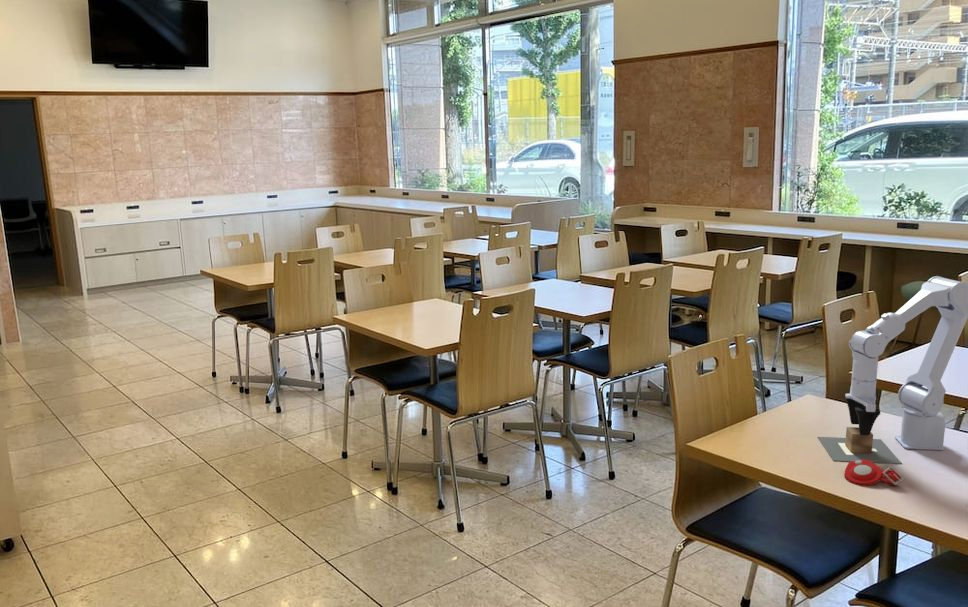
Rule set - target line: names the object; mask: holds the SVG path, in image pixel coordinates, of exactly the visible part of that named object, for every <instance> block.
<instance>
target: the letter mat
mask: <svg viewBox="0 0 968 607" xmlns="http://www.w3.org/2000/svg"><path fill="white" fill-rule="evenodd" d="M817 439H818V441H820V443H821V445H822V446H823V447H824V449H825V451H826V452H827V454H828V456H829V457H830V458H831V460H832V461H833V462H846V463H849V462H851V461H857V460H869V461H871V462H872V463H874V464H888V465H889V464H891V465H902V462H901V461H900V459H899V458H898V457H897V456H896V455H895V454H894V453H893V452H892V450H891V449H890V448H889V447H888V446H887V444H886V443H885V442H884V441H883V440H882V439H881V438H873V443H872V453H851V452H850V451H849V450H848V448H847V447H846V446H845V441H846V437H836V436H835V437H834V436H833V437H832V436H817Z"/></svg>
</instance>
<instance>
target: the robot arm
mask: <svg viewBox="0 0 968 607" xmlns="http://www.w3.org/2000/svg"><path fill="white" fill-rule="evenodd" d="M931 307H936V308H937V309H938V312H939V313H940V316H941V317H940V320H939V322H938V324H937V327H936V329H935V330H934V331H935V332H934V333H933V336H932V338H931V341H930V343H929V345H928V347H927V349H926V353H925V354H924V357H923V359H922V362H921V363H920V367H919V368H918V371H917V372H915V373H913V374H911V375H909V376H907V378H906V381H905V382H904V384H902V386H901V387H900V388H899V390H898V391H897V392H898V393H897V399H898V400H899V403H900V404H902V405H901V408H902V409H903V410H902V420H901V421H902V422H901V431H900V432H901V433H900V435H895V436H894V438H895V440H897V441H898V443H899V444H900V445H901V447H903V448H904V449H907V450H908V449H909V450H932V451H943V450H945V448H944V442H945V441H944V439H945V431H946V421H945V416H944V415H943V413H942V412H941V410H942V408H943V406H944V398H945V394H946V392H947V391H946V388H945V387H944V385H943V383H942V381H941V380H942V378H943V375H944V374H945V371H946V369H947V366H948V364H949V361H950V359H951V357H952V355H953V353H954V350H955V349H956V346H957V343H958V341H959V338H960V337H961V334H962V331H963V330H964V327H965V325H966V323H967V320H968V282H966V281H959V280H955V279H950V278H946V277H943V276H939V275H936V276H932V277H931V278H929V279H927V281H925V282H924V283H922V284H921V287H920V290H919V291H918V292H917V293H916V294H915V295H914V296H913V297H911V298H910V299H909V300H908V301H907V302H906V303H904V305H903V306H901V307H900V308H899V309H898V310H897V311H896V312H886V313H883V314H881V316H880V318H879V319H877V320H876V321H875V322H874V323H872V324H871V325H869V326H868V327H866V328H865V330H858V331H856V332H855V333H854V334H852V336H851V338H850V340H849V341H848V347H849V349H850V350H851V357H852V367H851V383H850V384H851V385H850V388H849V390H850V391H849V393H845V396H844V399H845V401H846V405H847V408H848V411H849V412H848V413H849V420H850V424H851V425H858V428H859V432H860V435H870V432H871V433H872V430H873V426H874V424H875V422H876V420H877V419H878V417H879V416H880V415H881V410H880V409H879V408H878V409H877V404H876V400H877V395H876V390H877V389H876V388H877V378H878V366H879V356H881V355H882V354H883V353H884V352H885V349H886V347H887V345H888V344H889V343H890V342H891V341H892V340H894V339H895V338H896V337H897V336H899V335H900V334H901V333H903V332H904V331H905V329H906V324H907V323H908V322H909V321H912V320H913V319H914V318H915V317H917V316H918V315H920V314H922V313H923V312H925V311H927V309H929V308H931Z"/></svg>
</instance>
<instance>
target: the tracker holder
mask: <svg viewBox="0 0 968 607" xmlns="http://www.w3.org/2000/svg"><path fill="white" fill-rule="evenodd" d="M847 463H848V464H847V465H846V467H845V469H844V474H843V475H844V479H845V480H846V481H848V482H849V483H852V484H854V485H858V486H863V487H866V486H867V487H868V486H872V485H874V484H877V483H879V481H880V482H882V483H885V484H886V485H889V486H892V487H894V486H896V485H898V484H899V483H901V482H902V481H903V480H904V477H903V476H902V475H901V474H900V473H899V472H898V471H897V470H896V469H894V468H893V467H892V466H889V467H887V469H885V470H884V469H883V468H881V467H880V466H878V465H877V463H872V462H871V461H869V460H857V461H851V462H847Z"/></svg>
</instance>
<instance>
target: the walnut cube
mask: <svg viewBox="0 0 968 607" xmlns="http://www.w3.org/2000/svg"><path fill="white" fill-rule="evenodd" d="M845 438H846V441H845V446H846V447H847V448H848V450H849V451H850V452H851V453H872V443H873V439H874V434H873V433H872V431H871V432H870V435H860V432H859V426H858V427H857V426H856V427H854V426H846V432H845Z"/></svg>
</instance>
